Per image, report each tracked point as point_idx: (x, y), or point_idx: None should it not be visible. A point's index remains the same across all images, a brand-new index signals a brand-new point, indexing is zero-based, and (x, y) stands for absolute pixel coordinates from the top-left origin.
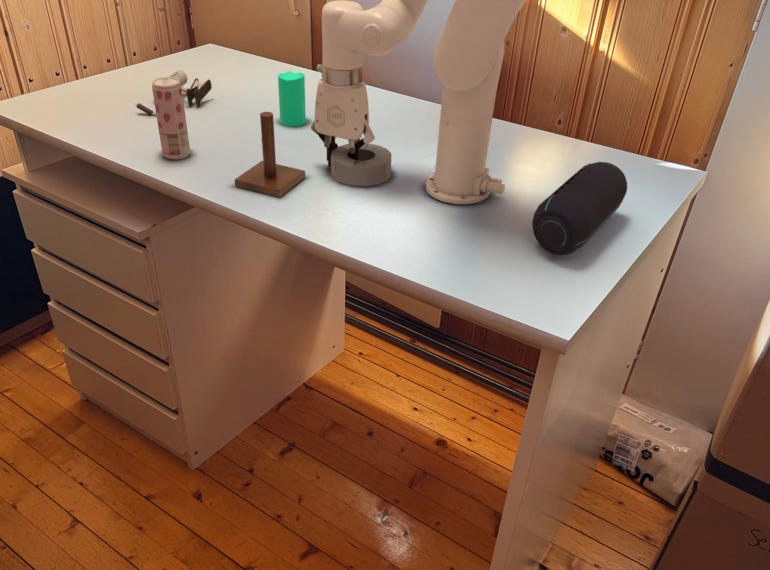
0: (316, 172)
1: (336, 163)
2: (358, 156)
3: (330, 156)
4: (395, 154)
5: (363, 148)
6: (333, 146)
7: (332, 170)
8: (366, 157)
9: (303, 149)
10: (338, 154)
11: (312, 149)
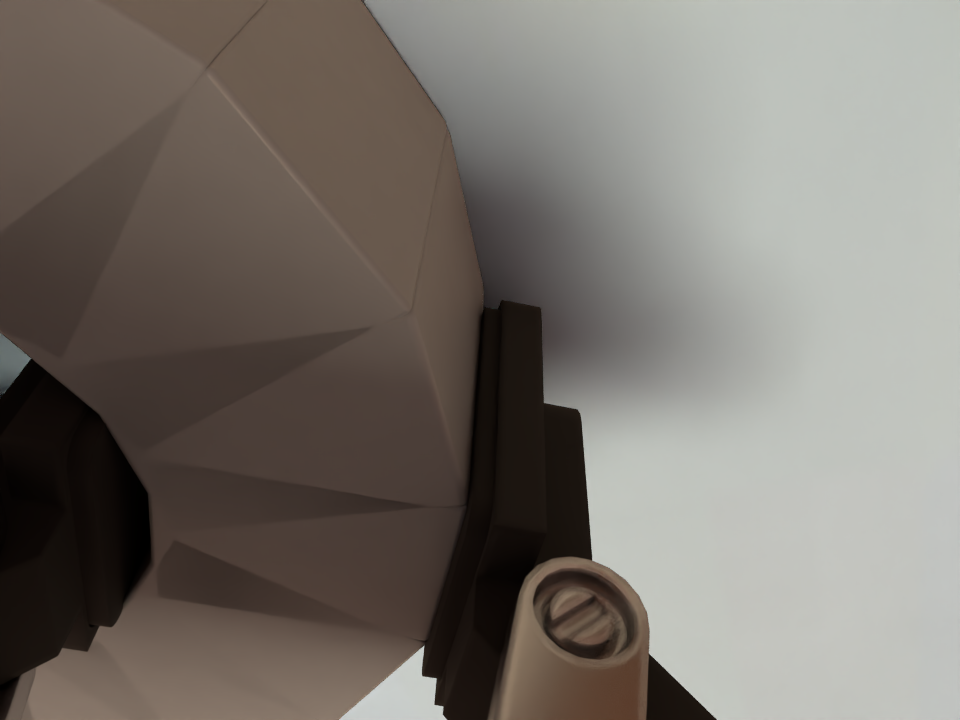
0: (707, 153)
1: (152, 3)
2: None
3: (494, 417)
4: None
5: None
6: (462, 619)
7: (383, 95)
8: None
9: (925, 658)
10: (280, 408)
11: (822, 671)
